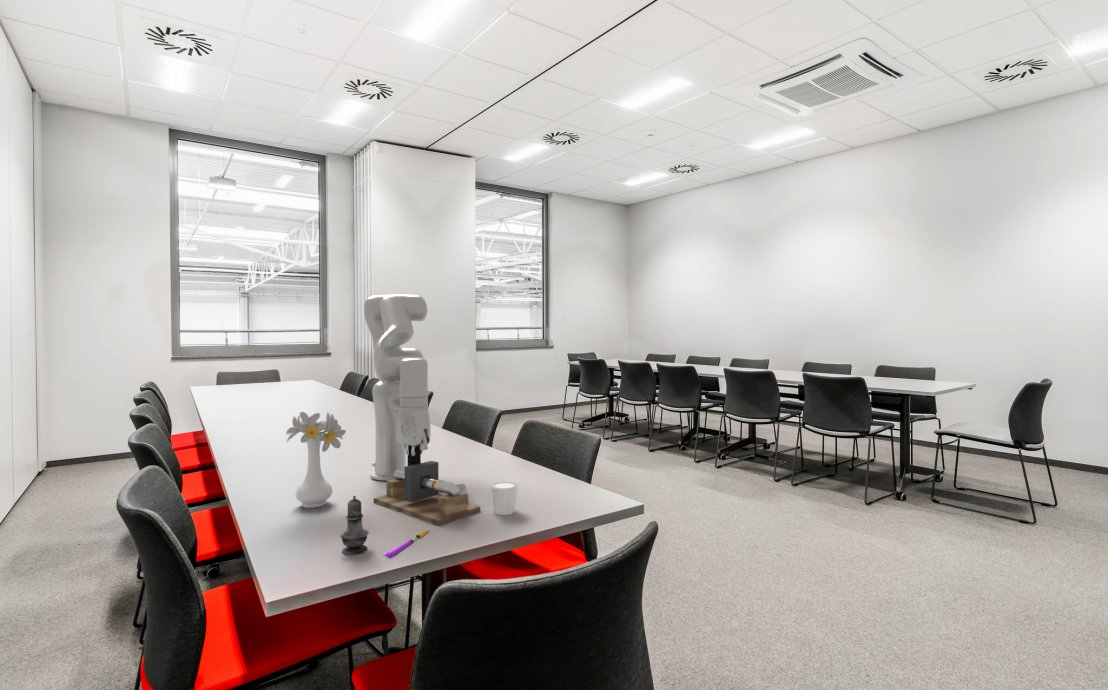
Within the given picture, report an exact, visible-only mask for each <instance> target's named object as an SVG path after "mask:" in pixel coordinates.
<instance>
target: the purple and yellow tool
mask: <svg viewBox="0 0 1108 690" xmlns="http://www.w3.org/2000/svg"><path fill="white" fill-rule="evenodd" d="M428 532H430V530H429V529H426V530H423V531H421V532H420V533H418V534H416V536H415V538H414V539H410V540H407V541H406V542H404V543H403V544H401V545H400V546H398V547H396V548H393V549H391V550H389V551H387V552H385V553H383V554H384V555H385V557H386V558H388V557H391V558H393V557H394V556H396V555H398V553H400V552H401V551H403V550H404V549H406V548H407V547H409V546H410V545H412V544H413V543H414V541H415V540H416V539H422V538H423V537H424V536H425V535H427V534H428ZM426 533H427V534H426ZM417 536H418V537H417ZM422 536H423V537H422ZM402 549H403V550H402ZM395 554H396V555H395ZM384 555H383V556H384ZM392 556H393V557H392Z"/></svg>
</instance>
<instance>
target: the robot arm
mask: <svg viewBox="0 0 1108 690" xmlns="http://www.w3.org/2000/svg"><path fill="white" fill-rule="evenodd" d="M427 305H428V304H427V301H426V300H425V299H424V297H423V296H421V295H418V294H399V293H398V294H397V293H396V294H395V293H394V294H393V293H392V294H379V295H378V294H377V295H372V296H369V297H367V298H366V299H365V301H364V305H363V312H364V319H365V322H366V325H367V327H368V330H369V332H370V335H371V337H372V347H373V363H374V369H375V374H376V377H377V379H378V380H379V381H377V382H376V383H375V384H374V385H373V386H372V393H371V395H372V402H373V407H374V419H375V424H374V425H375V426H374V427H375V460H374V461H372V463H371V466H372V467H374V470H373V471H372V472H371V473H370V478H371V479H372V480H375V481H386V482H387V481H388V480H392V479H396V478H395V477H394V472H395V471H396V470H402V471H404V467H406V466H410V465H415V464H419V463H422V462H421V458H422V457H421V456H422V454H423V451H425V450H428V449H429V447H428V444H429V443H431V419H430V413H429V412H430V411H429V398H428V396H429V391H428V388H429V381H428V380H429V379H428V378H429V375H428V374H429V372H428V371H429V369H428V368H429V366H428V365H429V364H428V361H427V359H426V358H425V357H424V355H423V352H422V351H421V350H419V349H417V348H413V347H401V345H403V344H406V343H408V342H409V341H410V340H412V338H413V336H414V334H415V333H414V327H413V323H412V322H423V321H425V320H426V318H427V315H428V306H427Z"/></svg>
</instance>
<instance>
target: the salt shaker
mask: <svg viewBox="0 0 1108 690" xmlns="http://www.w3.org/2000/svg"><path fill="white" fill-rule="evenodd" d="M363 518H364V514H363V513H362V501H361V500H360V499H358V498H357V496H356V495H353V496H352V499H350V500H349V501H348V502H347V515H346V516H345V519H347V520H346V521H347V523H346V524H347V525H346V531H343V532H342V533H340V535H339V537H340V539H341V542H342V544H343V545H344V546H345V547H344V548H343V549H342V550H341V553H342V554H343V555H346V556H355V555H359V554H360V555H361V554H363V553H365V552H367V551H368V546H367V545H365V543H366V541H367V539H368V535H369V534H370V531H369V530H368V529H366V528H365V529H364V527H363Z"/></svg>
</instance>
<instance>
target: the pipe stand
mask: <svg viewBox="0 0 1108 690" xmlns="http://www.w3.org/2000/svg"><path fill="white" fill-rule="evenodd" d="M468 493H469V492H467V493H466V492H463V491H461V493H460V495H458V496H454V495H450V494H447V493H446V494H444V495H443V494H441V493H440V494H439V495H436V496H432V497H429V498H425V499H422V500H418V501H415V502H408V501H406V500H405V481H403V480H400V479H397V478H396V479H392V480H388V481H386V494H384V495H380V496H377V497H373V503H375V504H377V505H379V506H382V507H385V508H388V509H391V510H393V509H394V511H397V512H398V513H402V514H404V513H405V515H408V516H410V517H413V518H415V517H416V519H418V518H419V520H421V521H424V522H427V523H429V522H430V524H433V525H435V524H436V525H435V526H441V525H443V524H446V522H447V523H450V522H452V521H453V522H454V521H455V520H459V519H461V518H464V516H465V517H466V516H470V515H472V514H476V513H479V512H481V506H479V505H476V504H473V503H470V502H469V503H468ZM458 518H459V519H458Z"/></svg>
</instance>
